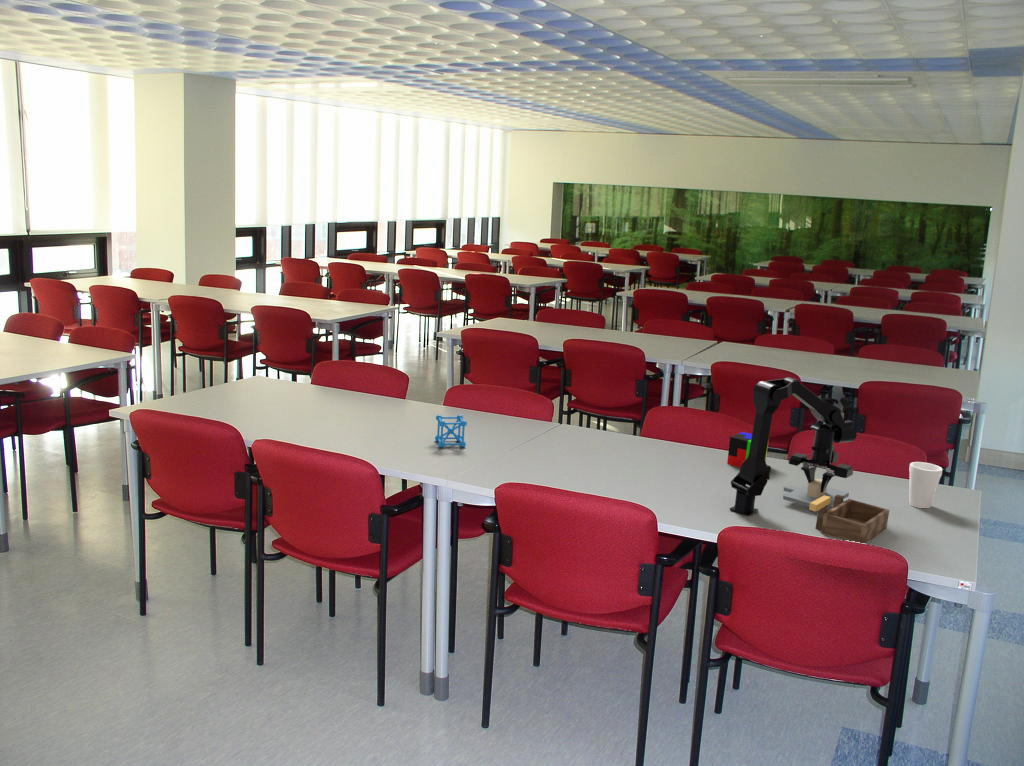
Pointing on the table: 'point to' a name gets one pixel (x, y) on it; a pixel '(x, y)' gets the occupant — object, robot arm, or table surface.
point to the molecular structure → (450, 431)
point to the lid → (811, 493)
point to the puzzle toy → (739, 448)
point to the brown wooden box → (852, 520)
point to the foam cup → (923, 483)
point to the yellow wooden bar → (819, 503)
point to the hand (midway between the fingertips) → (816, 491)
